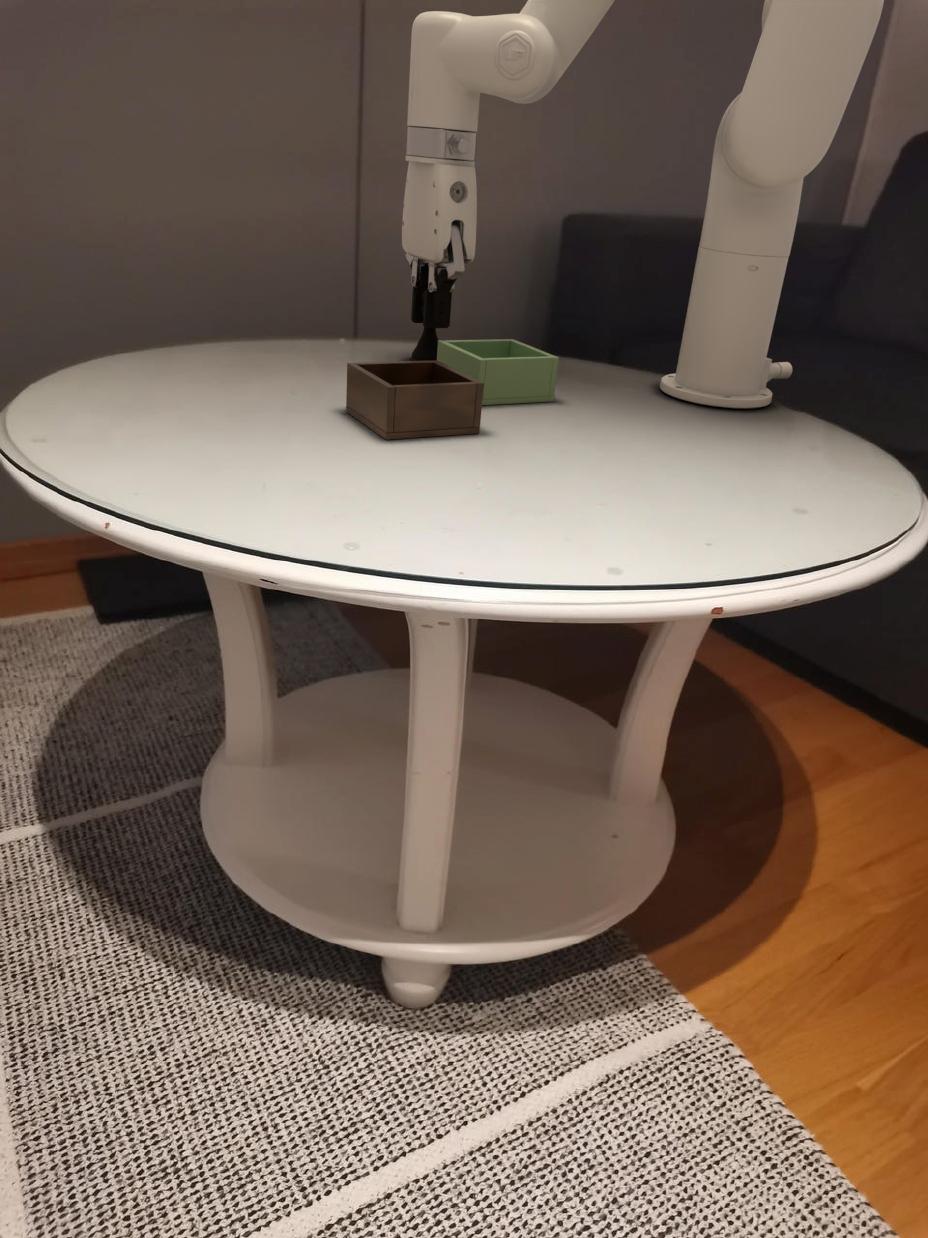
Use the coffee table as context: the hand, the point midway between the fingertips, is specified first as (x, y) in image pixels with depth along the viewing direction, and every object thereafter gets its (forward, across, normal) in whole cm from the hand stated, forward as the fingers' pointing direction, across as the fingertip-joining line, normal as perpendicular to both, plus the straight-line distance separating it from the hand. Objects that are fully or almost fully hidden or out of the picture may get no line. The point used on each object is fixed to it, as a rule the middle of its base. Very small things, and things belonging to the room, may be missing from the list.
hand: (430, 323), depth 109 cm
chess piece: (+5, 0, 0) cm, 5 cm away
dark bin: (+5, -23, +13) cm, 27 cm away
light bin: (+5, -14, -1) cm, 15 cm away
